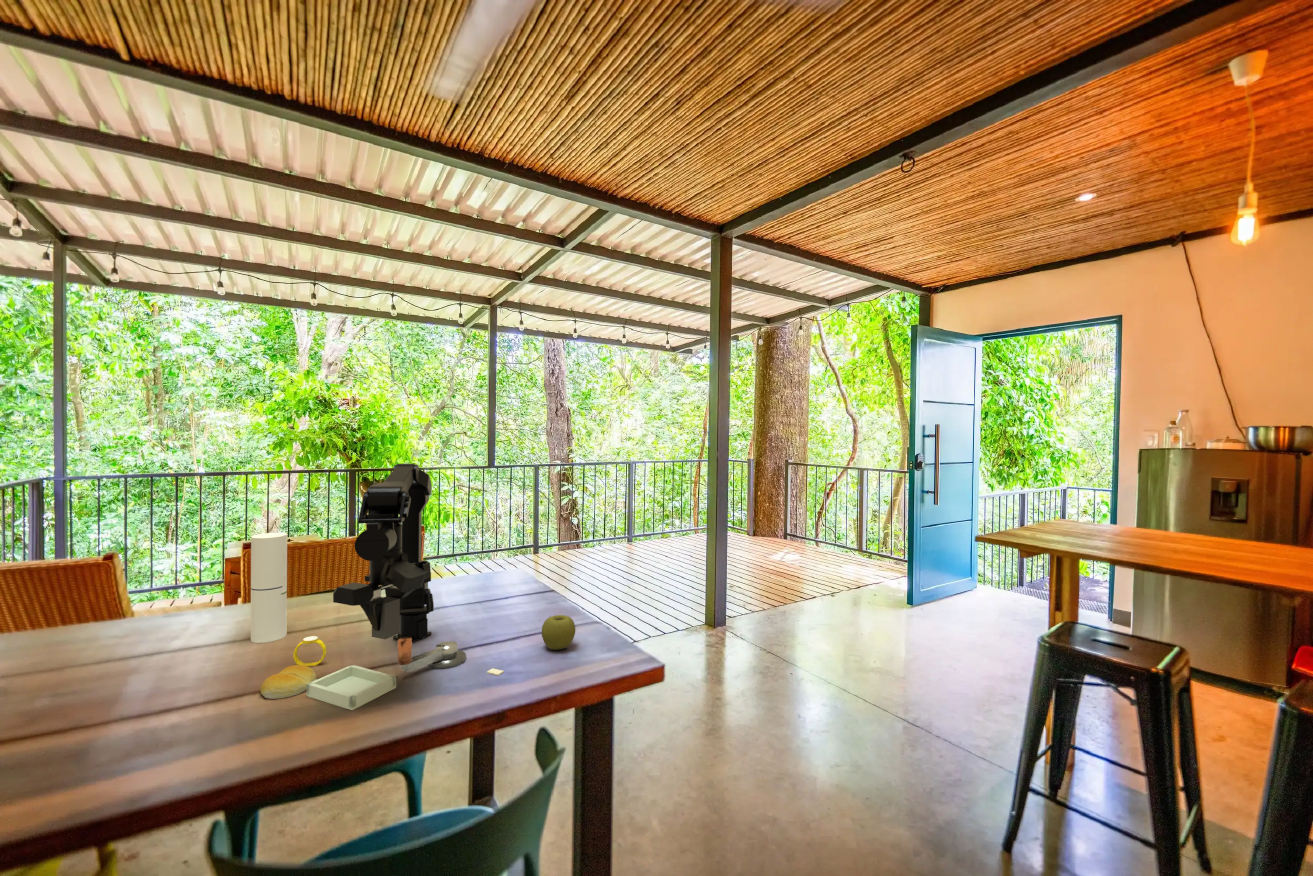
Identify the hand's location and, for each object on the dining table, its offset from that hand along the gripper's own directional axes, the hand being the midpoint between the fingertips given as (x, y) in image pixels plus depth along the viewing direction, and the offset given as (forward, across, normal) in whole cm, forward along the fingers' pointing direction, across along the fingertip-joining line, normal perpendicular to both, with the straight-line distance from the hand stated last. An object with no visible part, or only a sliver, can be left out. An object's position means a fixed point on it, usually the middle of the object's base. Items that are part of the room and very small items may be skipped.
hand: (385, 627), depth 108 cm
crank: (+11, +10, -1) cm, 15 cm away
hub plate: (+12, +14, -2) cm, 19 cm away
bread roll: (+12, -8, +17) cm, 22 cm away
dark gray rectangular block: (+2, 0, 0) cm, 2 cm away
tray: (+12, -4, +4) cm, 13 cm away
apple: (+12, +31, -21) cm, 39 cm away
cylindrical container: (+12, +8, +47) cm, 49 cm away
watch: (+12, +1, +23) cm, 26 cm away
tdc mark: (+12, +14, -16) cm, 24 cm away
